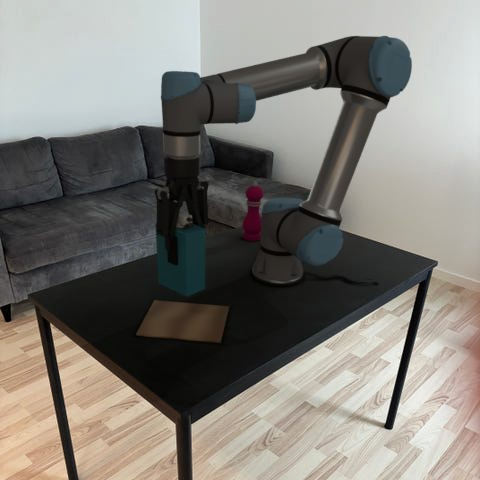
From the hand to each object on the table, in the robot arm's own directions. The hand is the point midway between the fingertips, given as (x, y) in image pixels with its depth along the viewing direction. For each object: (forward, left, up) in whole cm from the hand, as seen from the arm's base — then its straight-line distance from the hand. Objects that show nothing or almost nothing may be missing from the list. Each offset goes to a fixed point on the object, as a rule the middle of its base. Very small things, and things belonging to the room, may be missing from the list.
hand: (183, 259), depth 110 cm
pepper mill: (-12, -61, -17) cm, 64 cm away
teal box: (+5, -4, +2) cm, 6 cm away
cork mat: (0, 0, -17) cm, 17 cm away
